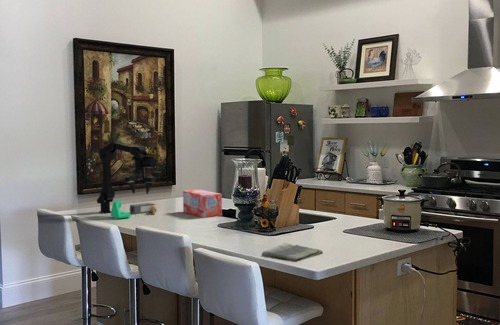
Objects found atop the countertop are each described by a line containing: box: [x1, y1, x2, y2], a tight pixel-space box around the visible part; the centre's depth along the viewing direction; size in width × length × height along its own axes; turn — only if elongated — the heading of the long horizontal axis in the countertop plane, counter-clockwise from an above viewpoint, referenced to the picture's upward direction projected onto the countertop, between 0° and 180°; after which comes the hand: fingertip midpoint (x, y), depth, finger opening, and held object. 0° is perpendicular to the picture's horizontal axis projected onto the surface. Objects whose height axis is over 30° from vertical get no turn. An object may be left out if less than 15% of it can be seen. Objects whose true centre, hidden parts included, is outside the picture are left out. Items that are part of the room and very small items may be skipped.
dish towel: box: [261, 242, 324, 263], centre depth 228 cm, size 19×18×3 cm
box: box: [182, 188, 223, 219], centre depth 336 cm, size 27×13×14 cm, turn 33°
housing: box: [129, 202, 155, 215], centre depth 347 cm, size 7×14×5 cm, turn 125°
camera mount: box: [110, 200, 132, 220], centre depth 329 cm, size 12×8×10 cm, turn 36°
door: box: [152, 203, 157, 215], centre depth 343 cm, size 2×11×5 cm, turn 5°
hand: (140, 193), depth 337 cm, fingers open, 9 cm apart
